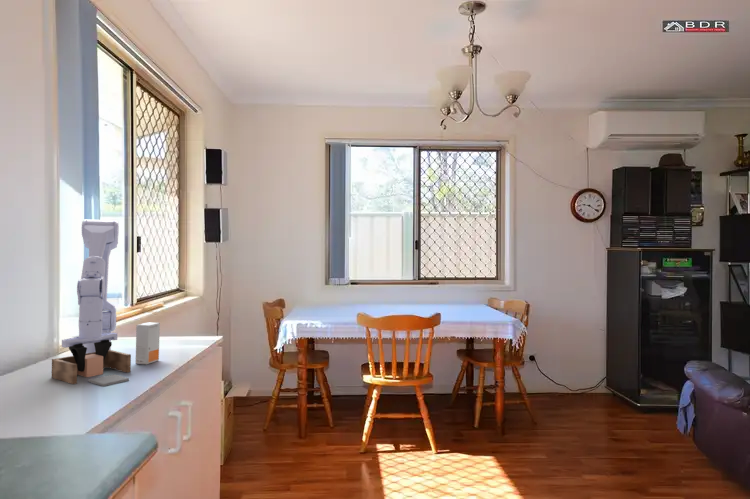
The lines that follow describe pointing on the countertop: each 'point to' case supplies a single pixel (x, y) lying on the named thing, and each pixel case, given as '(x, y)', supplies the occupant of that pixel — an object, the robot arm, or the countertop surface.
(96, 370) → the block
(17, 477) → the countertop surface
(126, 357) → the open box
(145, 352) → the skincare box
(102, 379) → the mat
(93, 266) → the robot arm
